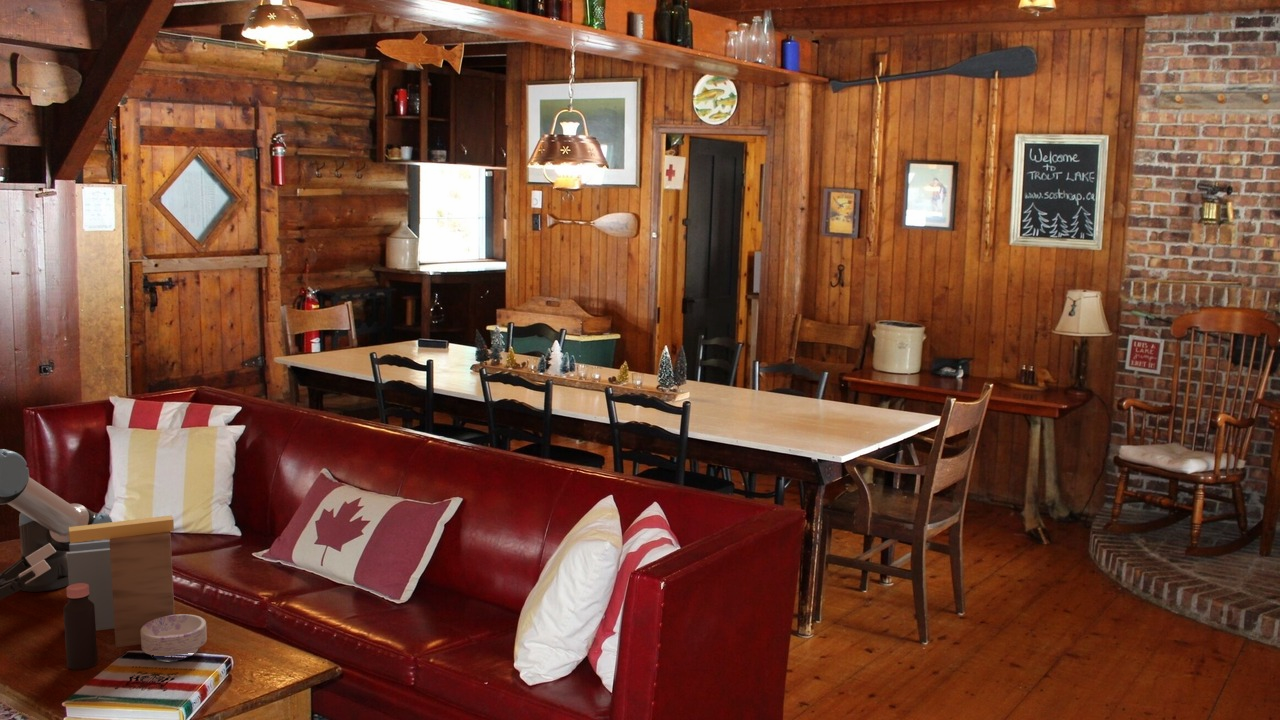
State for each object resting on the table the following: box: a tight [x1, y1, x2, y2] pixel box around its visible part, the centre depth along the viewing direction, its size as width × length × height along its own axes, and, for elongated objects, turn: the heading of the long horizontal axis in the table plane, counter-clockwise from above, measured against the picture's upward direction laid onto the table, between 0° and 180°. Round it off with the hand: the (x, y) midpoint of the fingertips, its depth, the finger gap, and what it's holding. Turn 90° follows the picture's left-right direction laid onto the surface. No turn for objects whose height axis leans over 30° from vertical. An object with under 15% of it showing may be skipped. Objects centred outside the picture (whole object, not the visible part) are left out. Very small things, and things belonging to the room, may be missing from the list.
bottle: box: [63, 583, 99, 671], centre depth 285 cm, size 7×7×20 cm
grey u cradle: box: [66, 540, 115, 632], centre depth 311 cm, size 9×16×22 cm, turn 111°
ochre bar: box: [69, 515, 175, 543], centre depth 298 cm, size 4×24×3 cm, turn 118°
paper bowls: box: [140, 613, 208, 656], centre depth 293 cm, size 15×15×8 cm
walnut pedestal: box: [109, 531, 176, 648], centre depth 301 cm, size 8×14×28 cm, turn 111°
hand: (50, 555), depth 292 cm, fingers open, 13 cm apart
